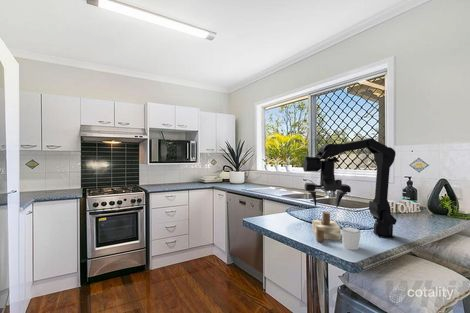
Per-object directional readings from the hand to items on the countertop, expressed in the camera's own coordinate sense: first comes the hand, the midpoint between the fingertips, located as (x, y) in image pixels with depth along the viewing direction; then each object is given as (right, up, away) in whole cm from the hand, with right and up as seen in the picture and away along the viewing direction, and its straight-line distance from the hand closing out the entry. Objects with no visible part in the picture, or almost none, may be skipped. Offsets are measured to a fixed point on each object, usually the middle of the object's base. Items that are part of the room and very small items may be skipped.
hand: (326, 206), depth 109 cm
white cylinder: (+5, -14, -12) cm, 19 cm away
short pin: (-5, -13, -7) cm, 16 cm away
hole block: (0, -13, +1) cm, 13 cm away
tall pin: (0, -13, +1) cm, 13 cm away
